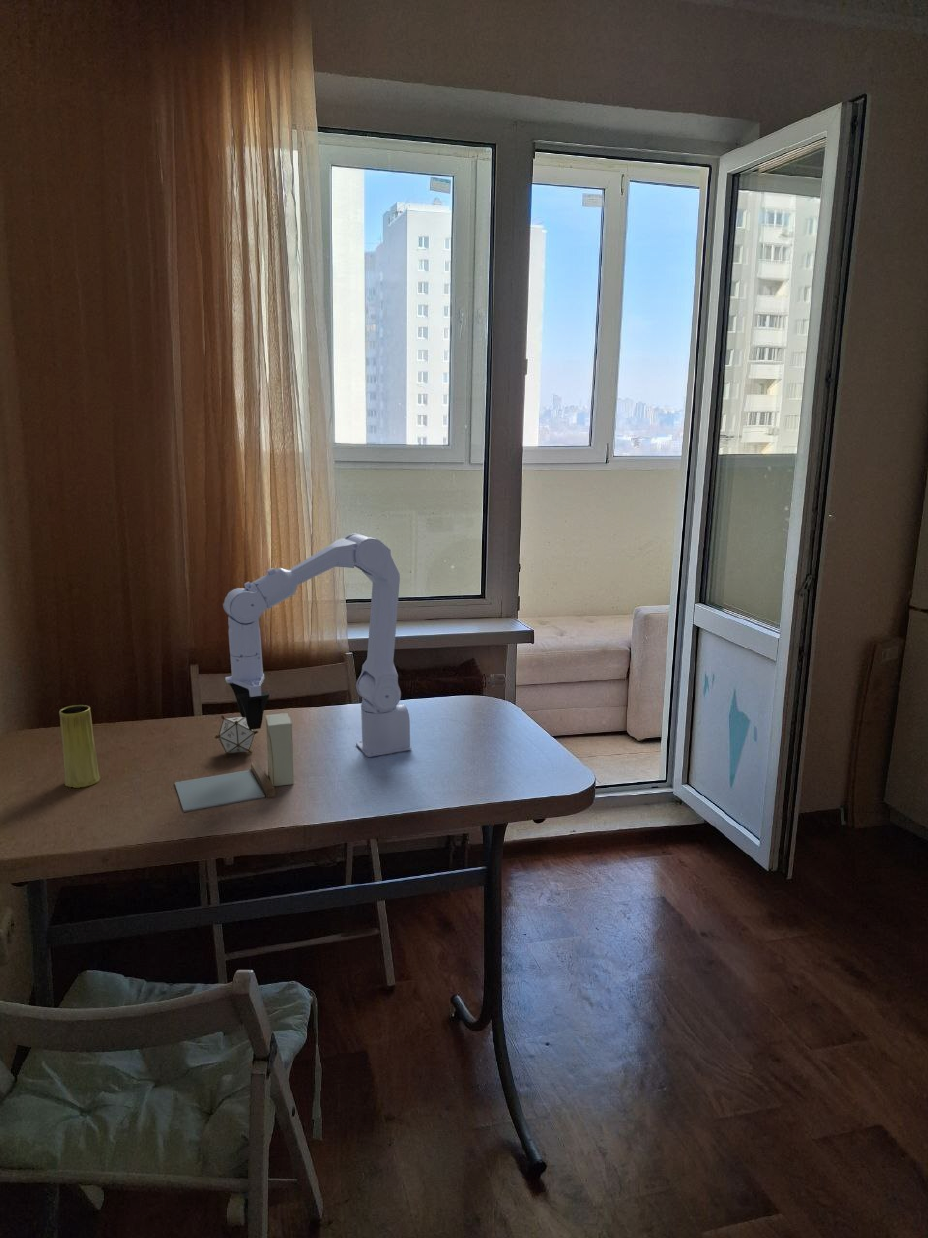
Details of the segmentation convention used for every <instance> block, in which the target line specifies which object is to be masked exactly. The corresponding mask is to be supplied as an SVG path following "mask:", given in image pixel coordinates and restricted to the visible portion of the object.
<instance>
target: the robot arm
mask: <svg viewBox="0 0 928 1238" xmlns="http://www.w3.org/2000/svg"><path fill="white" fill-rule="evenodd" d="M336 567H337V568H338V567H339V568H348V569H349V568H350V569H354V568H357V569H359V570H360V571H361V572H362V573H363V574H364V575H365V576H366V577H367V578H368V579H369V580H370V581H371V582H372V586H371V587H372V589H371V590H372V591H371V602H370V614H369V615H370V616H369V617H370V618H369V629H368V630H369V631H368V640H367V641H368V643H367V655H366V656H367V657H366V660H365V661H364V663H362V667H361V673H360V675H359V677H358V678H357V681H356V686H355V687H356V691H357V693H358V695H359V696H360V697H362V698H361V699H362V701H361V704H360V708H361V711H360V712H361V713H360V714H361V718H360V719H361V741H356V742H355V745H356V746H357V747H358V748H359V750H360V751H362V753H364V755H365V756H366V757H368V758H371V757H377V756H381V755H382V756H383V755H388V754H395V753H402V752H405V751H411V750H412V746H411V729H410V727H411V726H410V725H411V723H410V722H411V721H410V713H409V710H408V708H407V706H406V705H405V704H404V703H400V702H401V697H402V691H401V688H400V686H399V674H398V672H397V669H396V666H395V663H394V657H395V645H396V634H397V631H396V630H397V621H398V620H397V619H398V609H399V607H398V606H399V595H400V583H401V576H400V571H399V570H398V568H397V565H396V563H395V561H394V559H393V557H392V555H391V549H390V548H389V547H388V546H387V545H385V543H384V542H382V541H381V540H380V539H377V538H374V537H370V536H366V535H364V534H362V533H358V532H353V533H350V534H348V535H346V536H345V537H344V538H343V537H342V538H338V539H336V540H335V541H334V542H332V543H331V544H330V545H327V546H326V547H324V548H322V549H321V550H319V551H318V552H316V553H314V554H312V555H311V556H309V557H308V558H306V559H305V560H303V561H301V562H300V563H297V564H296V565H295V566H292V568H290V569H286V568H282V567H278V568H276V569H275V568H274V567H271V568H269V569H267V570H266V574H265V575H264V576H263V575H262V576H261V577H259V578H258V579H256V580H253V581H252V582H250V581H247V582H245V583H244V588H243V587H241V588H240V587H237V588H234V589H232V590H230V591H228V593H226V594H227V595H226V596H225V597H224V602H223V603H222V607H223V610H224V612H225V613H226V614H227V615H228V617H227V619H228V622H227V624H228V643H229V644H228V645H229V655H230V666H231V667H230V669H231V675H230V676H225V677H224V678H225V682H226V684H229V685H230V688H231V689H232V692H233V694H234V696H235V700H236V703H237V707H238V710H239V713H240V717H241V716H242V717H246V721H247V725H248V727H249V730H253V729H254V730H258V729H261V728H262V723H263V717H264V711H265V707H266V705H267V702H268V700H269V699H270V698H269V697H270V693H269V691H262V684H263V683H264V680H265V673H264V667H263V666H264V665H263V655H262V654H263V653H262V652H263V651H262V650H263V649H262V639H261V636H262V635H261V628H260V618H261V616H262V614H263V612H264V611H267V610H268V609H270V608H273V607H274V606H277V605H279V603H282V602H283V601H285V600H287V599H289V598H291V597H292V596H294V595H295V594H296V592H297V590H298V586H299V585H301V584H303V583H305V582H307V581H308V580H311V579H314V578H315V577H317V576H319V575H322V574H323V573H325V572H327V571H329V570H331V569H334V568H336Z"/></svg>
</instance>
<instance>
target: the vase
mask: <svg viewBox="0 0 928 1238" xmlns="http://www.w3.org/2000/svg"><path fill="white" fill-rule="evenodd" d="M58 715H59V723H60V724H59V725H60V732H61V733H60V734H61V740H62V741H61V743H62V752H63V753H62V755H63V766H64V767H63V768H64V785H65V786H66V787H67V786H68V787H67V788H71V787H73V789H79V788H80V787H82V788H87V787H90V786H93V785H95V784H96V783H98V782H99V781H100V779H101V775H100V774H99V773H100V772H99V765H98V760H97V759H98V757H97V751H96V747H95V746H96V745H95V737H94V730H93V729H94V728H93V720H92V712H91V707H90V705H86V704H85V705H84V704H78V705H77V704H76V705H69V706H65V707H62V708H61V709H59V711H58ZM80 789H81V788H80Z"/></svg>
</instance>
